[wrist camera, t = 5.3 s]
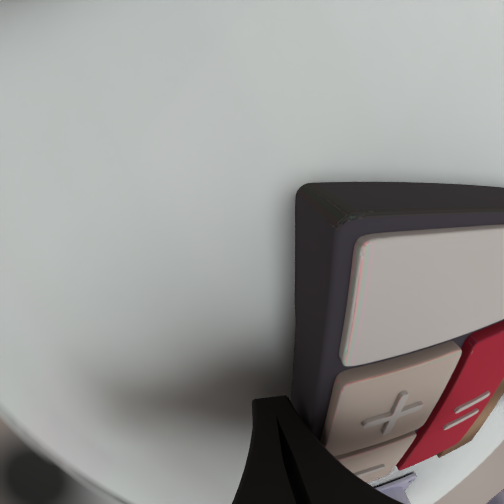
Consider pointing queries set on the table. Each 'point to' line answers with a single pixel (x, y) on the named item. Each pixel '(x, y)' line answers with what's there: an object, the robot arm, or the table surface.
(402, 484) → the robot arm
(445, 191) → the calculator
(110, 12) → the table surface
